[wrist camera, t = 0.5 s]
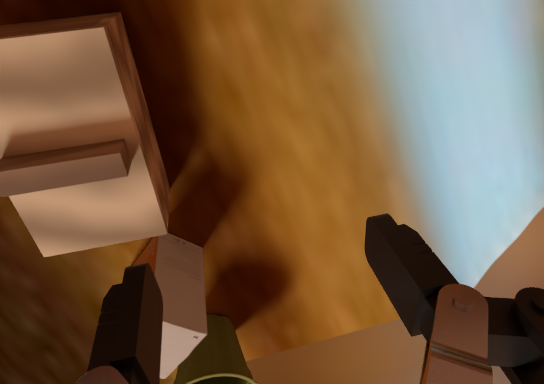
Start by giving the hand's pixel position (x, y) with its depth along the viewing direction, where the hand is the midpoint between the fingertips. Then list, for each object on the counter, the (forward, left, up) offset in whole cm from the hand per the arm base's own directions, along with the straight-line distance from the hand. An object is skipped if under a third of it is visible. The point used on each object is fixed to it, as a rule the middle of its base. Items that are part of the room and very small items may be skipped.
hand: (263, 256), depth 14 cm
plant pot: (+37, -7, -27) cm, 46 cm away
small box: (+22, -10, -27) cm, 36 cm away
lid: (+3, -13, -19) cm, 23 cm away
